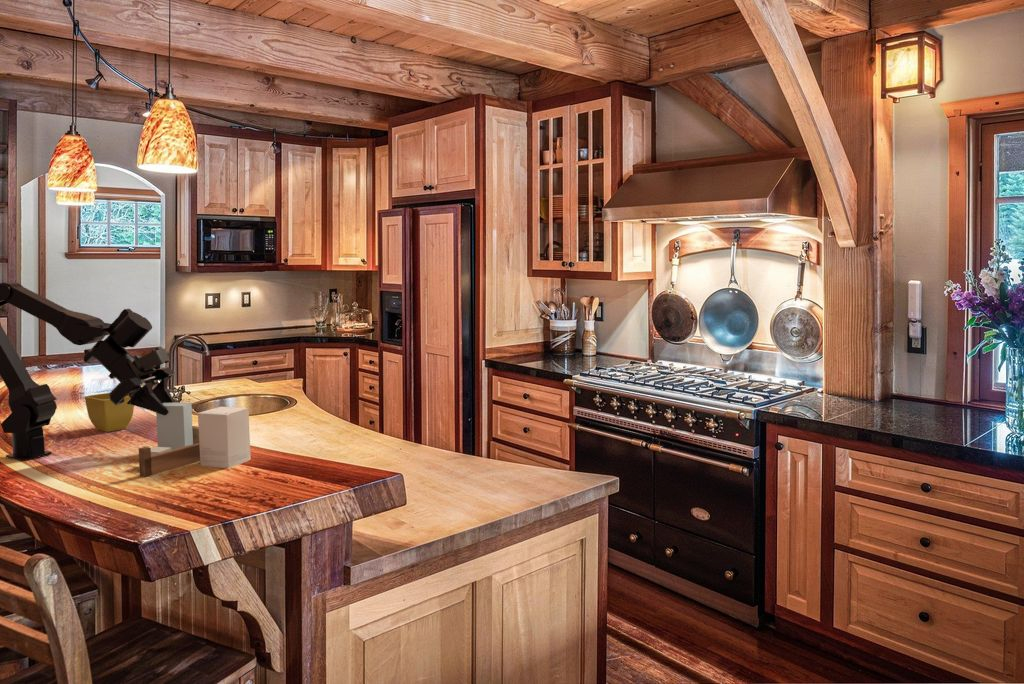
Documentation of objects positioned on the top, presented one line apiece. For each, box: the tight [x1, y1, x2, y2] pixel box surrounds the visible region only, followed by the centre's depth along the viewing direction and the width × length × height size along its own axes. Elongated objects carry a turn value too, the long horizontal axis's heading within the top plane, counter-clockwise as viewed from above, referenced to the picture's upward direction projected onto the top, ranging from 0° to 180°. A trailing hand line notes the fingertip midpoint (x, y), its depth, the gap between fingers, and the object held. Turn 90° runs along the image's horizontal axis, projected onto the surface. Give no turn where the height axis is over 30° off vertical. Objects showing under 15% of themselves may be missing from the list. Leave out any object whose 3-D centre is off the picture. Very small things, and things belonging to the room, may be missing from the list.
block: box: [155, 402, 194, 450], centre depth 164 cm, size 6×4×12 cm, turn 89°
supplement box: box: [197, 406, 252, 469], centre depth 155 cm, size 7×7×13 cm
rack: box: [138, 425, 200, 478], centre depth 159 cm, size 18×26×7 cm
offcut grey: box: [150, 446, 171, 455], centre depth 152 cm, size 4×4×2 cm
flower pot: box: [84, 392, 135, 433], centre depth 191 cm, size 9×9×9 cm
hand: (171, 411), depth 164 cm, fingers closed on block, 4 cm apart
